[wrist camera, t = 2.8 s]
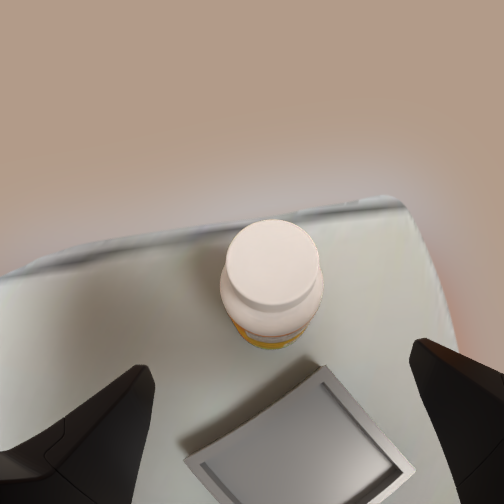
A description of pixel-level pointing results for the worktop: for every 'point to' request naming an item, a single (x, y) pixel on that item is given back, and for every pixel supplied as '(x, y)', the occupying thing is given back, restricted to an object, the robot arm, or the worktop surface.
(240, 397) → the worktop surface
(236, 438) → the charcoal tray
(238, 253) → the supplement bottle
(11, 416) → the worktop surface
